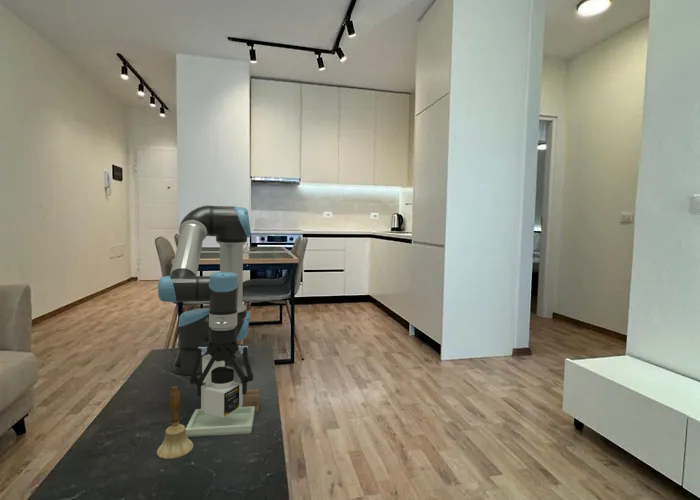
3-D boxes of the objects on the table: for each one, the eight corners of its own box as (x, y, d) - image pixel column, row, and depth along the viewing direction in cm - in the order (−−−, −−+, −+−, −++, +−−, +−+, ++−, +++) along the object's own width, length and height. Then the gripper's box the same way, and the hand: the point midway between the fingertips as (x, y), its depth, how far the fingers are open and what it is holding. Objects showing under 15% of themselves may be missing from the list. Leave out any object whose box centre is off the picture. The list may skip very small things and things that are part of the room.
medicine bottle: (224, 418, 102) (224, 374, 102) (203, 413, 105) (203, 370, 104) (240, 407, 109) (241, 366, 109) (220, 403, 112) (220, 362, 111)
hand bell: (177, 462, 89) (178, 395, 89) (148, 455, 92) (149, 390, 91) (200, 443, 97) (201, 382, 97) (173, 438, 100) (173, 378, 99)
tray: (195, 415, 112) (195, 409, 112) (254, 412, 115) (254, 406, 115) (184, 437, 100) (184, 429, 100) (251, 433, 103) (251, 425, 103)
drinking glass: (216, 409, 116) (217, 361, 116) (197, 406, 118) (197, 359, 117) (228, 400, 123) (228, 354, 122) (209, 397, 124) (209, 352, 124)
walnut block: (243, 405, 119) (243, 390, 119) (259, 404, 120) (259, 389, 120) (241, 413, 115) (241, 396, 114) (258, 412, 115) (258, 396, 115)
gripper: (177, 331, 101) (177, 414, 101) (262, 330, 104) (261, 410, 105) (184, 325, 108) (184, 402, 109) (264, 323, 112) (263, 398, 113)
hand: (222, 406), depth 107 cm, fingers closed on medicine bottle, 9 cm apart
